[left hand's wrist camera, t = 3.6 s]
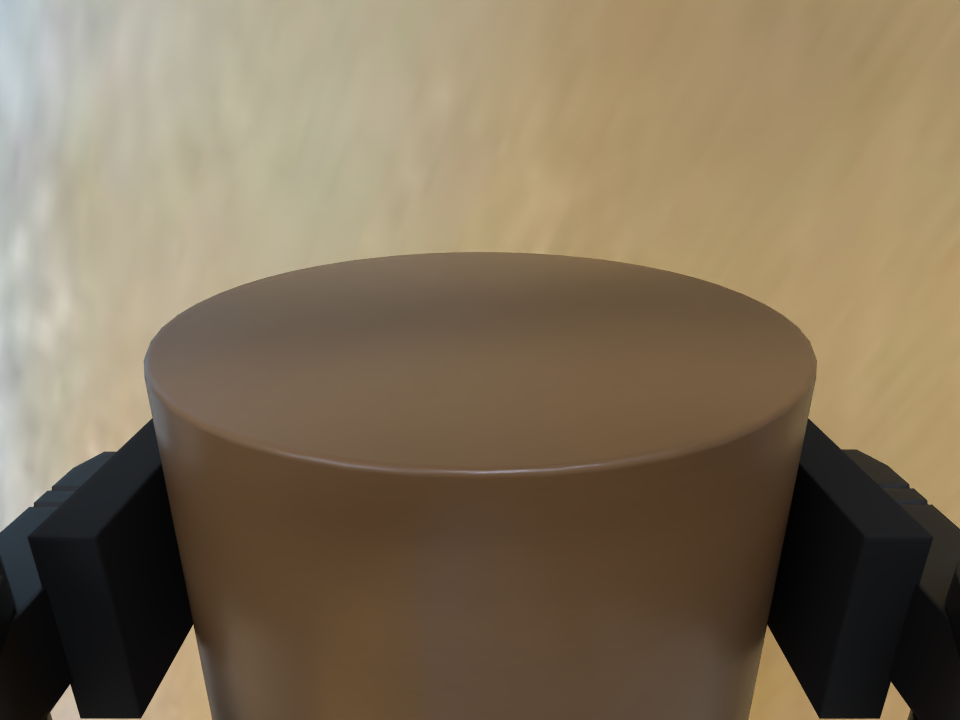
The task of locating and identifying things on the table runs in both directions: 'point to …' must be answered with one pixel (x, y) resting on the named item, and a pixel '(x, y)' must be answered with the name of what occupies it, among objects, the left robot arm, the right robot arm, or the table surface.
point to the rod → (480, 488)
